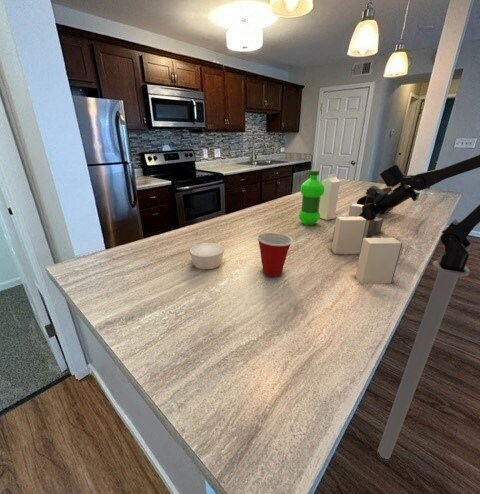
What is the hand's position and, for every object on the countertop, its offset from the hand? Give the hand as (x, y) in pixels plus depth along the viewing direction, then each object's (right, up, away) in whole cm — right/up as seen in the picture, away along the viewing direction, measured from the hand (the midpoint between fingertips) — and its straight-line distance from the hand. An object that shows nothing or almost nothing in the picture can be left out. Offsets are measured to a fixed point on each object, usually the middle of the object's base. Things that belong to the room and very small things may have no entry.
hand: (360, 218), depth 109 cm
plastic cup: (-40, -19, -26) cm, 51 cm away
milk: (-6, +2, +26) cm, 27 cm away
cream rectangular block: (0, -7, +3) cm, 8 cm away
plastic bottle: (-17, -1, +18) cm, 25 cm away
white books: (-11, -17, -21) cm, 29 cm away
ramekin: (-61, -17, -21) cm, 67 cm away
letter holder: (+22, +6, +35) cm, 41 cm away
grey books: (0, -7, +3) cm, 8 cm away
